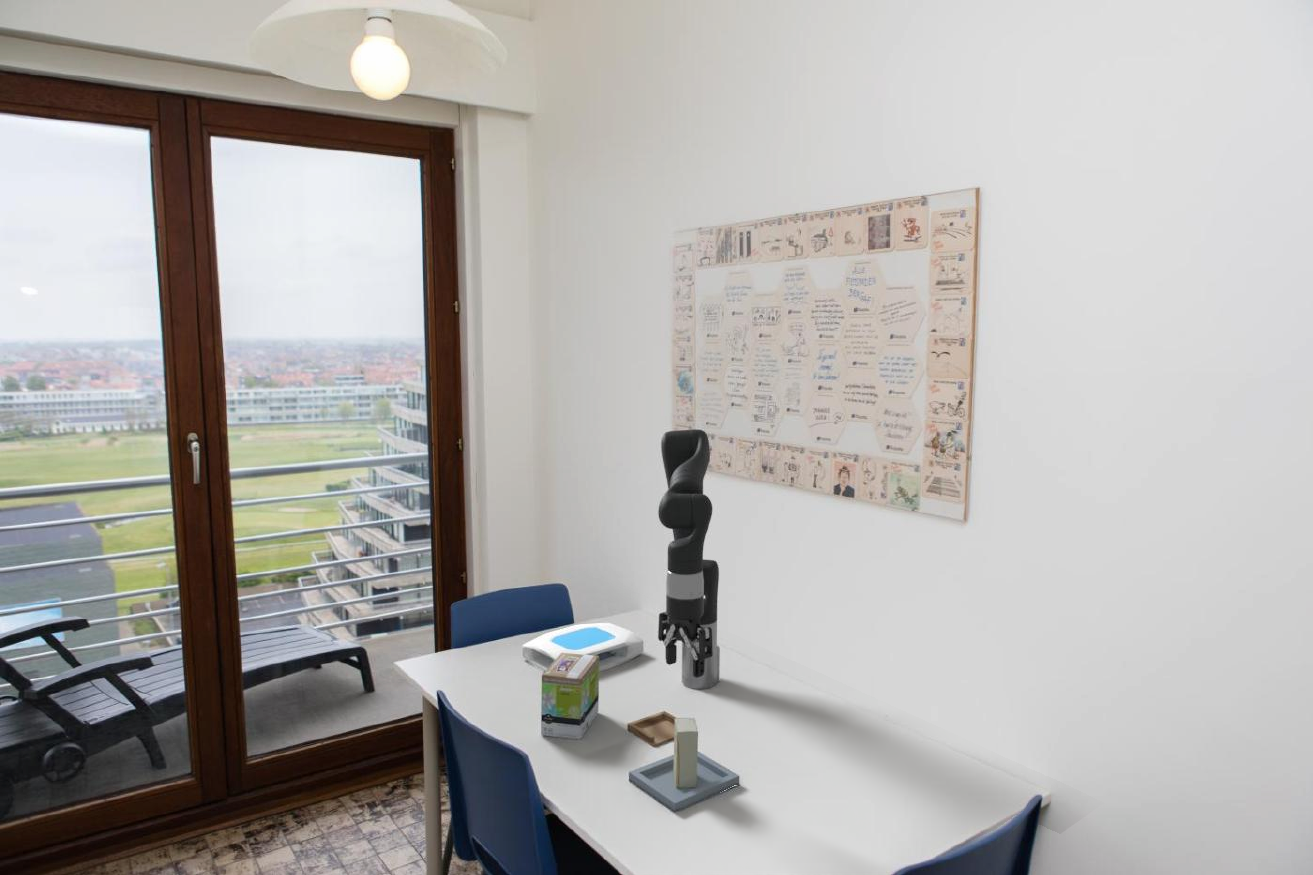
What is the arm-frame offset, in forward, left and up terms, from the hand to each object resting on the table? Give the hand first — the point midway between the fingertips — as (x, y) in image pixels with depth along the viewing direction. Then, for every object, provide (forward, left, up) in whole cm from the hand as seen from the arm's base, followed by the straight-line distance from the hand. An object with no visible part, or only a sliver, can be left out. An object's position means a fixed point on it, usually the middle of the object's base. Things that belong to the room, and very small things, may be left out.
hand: (684, 669), depth 172 cm
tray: (0, 0, -24) cm, 24 cm away
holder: (-10, -21, -24) cm, 33 cm away
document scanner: (-21, -70, -25) cm, 77 cm away
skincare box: (0, +1, -24) cm, 24 cm away
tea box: (+4, -37, -24) cm, 44 cm away
